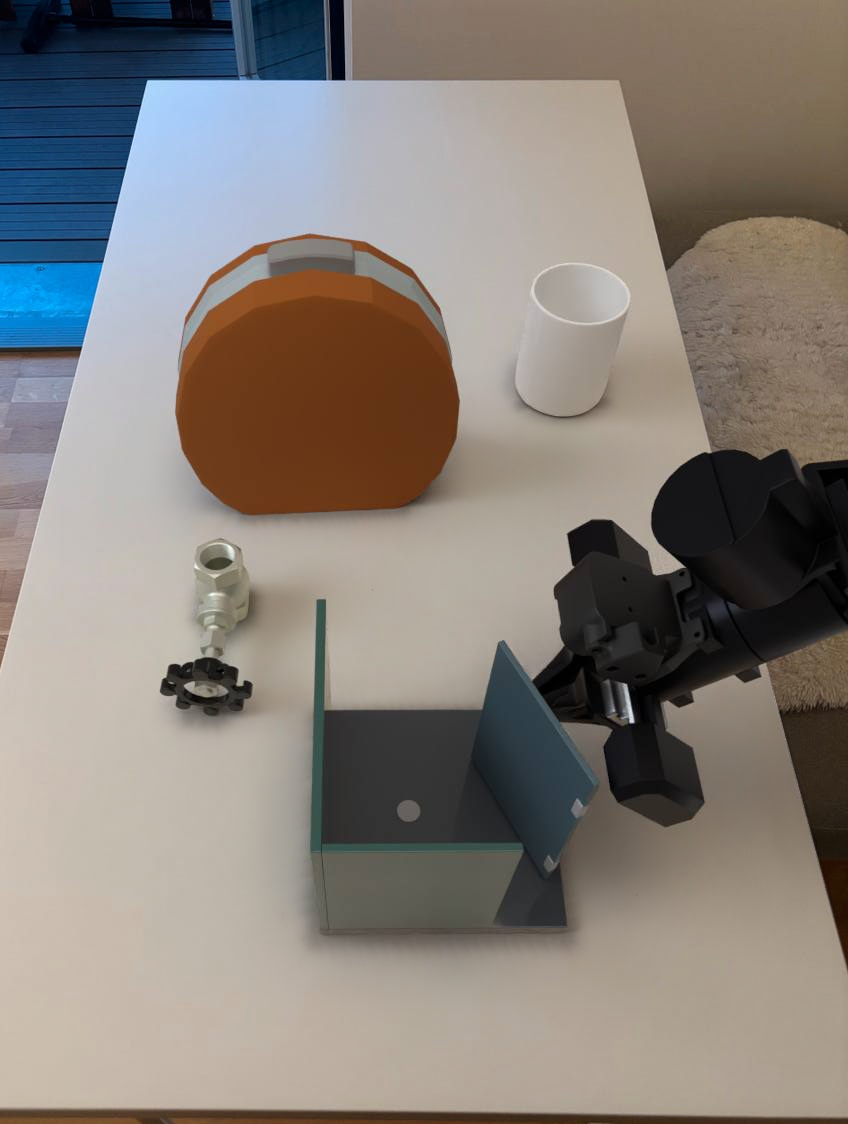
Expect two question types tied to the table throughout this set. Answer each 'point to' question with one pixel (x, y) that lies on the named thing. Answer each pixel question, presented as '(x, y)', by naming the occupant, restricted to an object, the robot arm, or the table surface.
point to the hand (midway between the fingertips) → (516, 711)
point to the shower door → (531, 763)
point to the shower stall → (413, 826)
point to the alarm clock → (315, 380)
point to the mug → (570, 337)
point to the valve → (214, 631)
